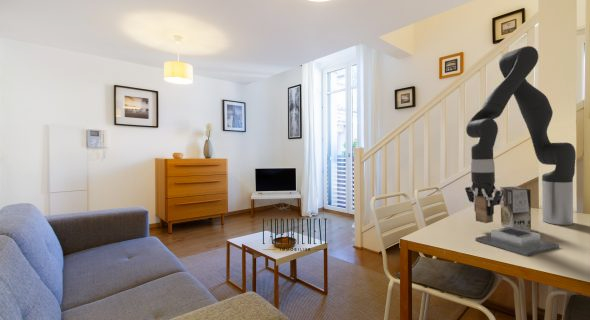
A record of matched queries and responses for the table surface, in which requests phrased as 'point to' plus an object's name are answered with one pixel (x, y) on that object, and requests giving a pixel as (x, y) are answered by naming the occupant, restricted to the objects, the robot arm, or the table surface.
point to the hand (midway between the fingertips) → (483, 214)
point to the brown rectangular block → (482, 210)
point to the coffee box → (516, 208)
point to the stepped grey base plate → (517, 241)
